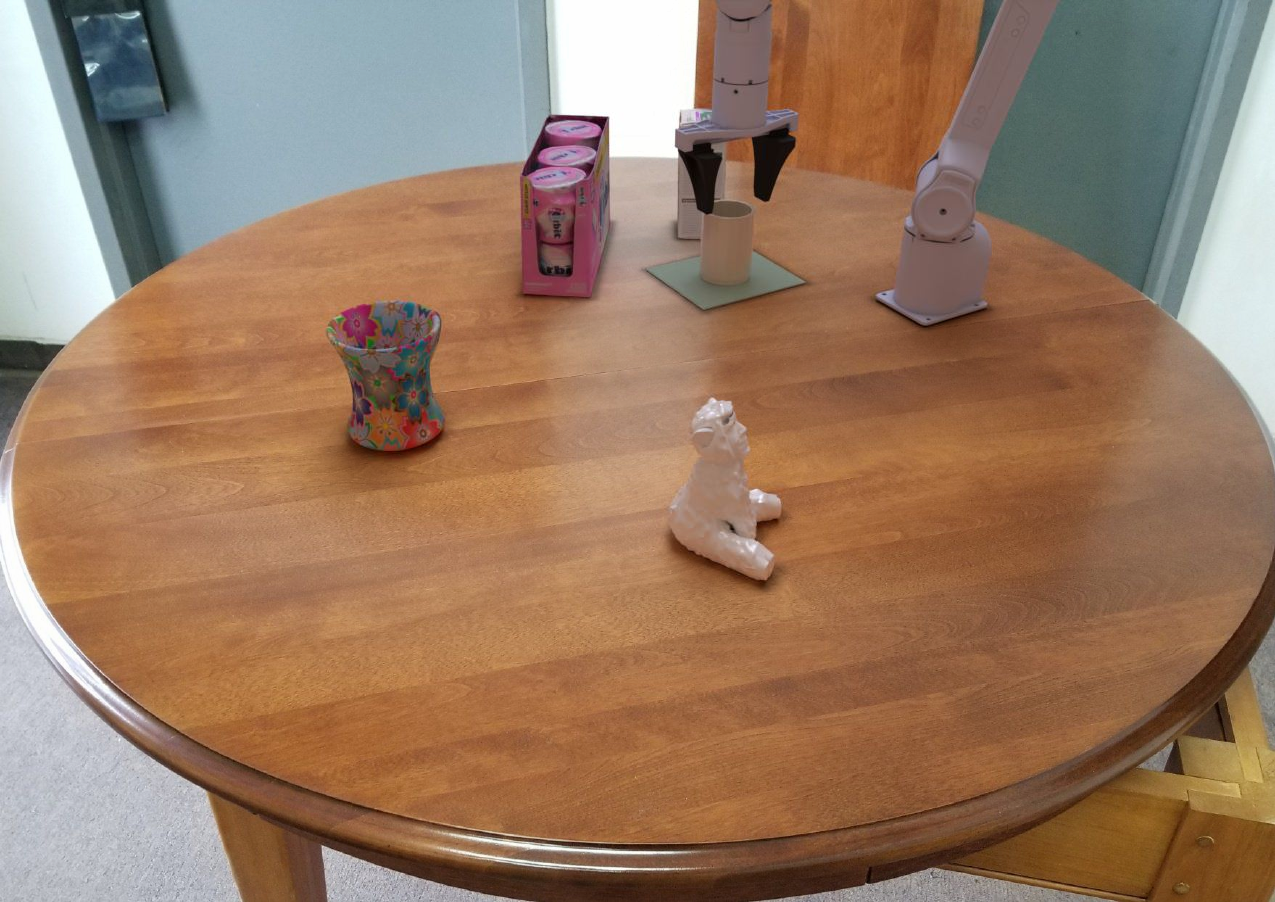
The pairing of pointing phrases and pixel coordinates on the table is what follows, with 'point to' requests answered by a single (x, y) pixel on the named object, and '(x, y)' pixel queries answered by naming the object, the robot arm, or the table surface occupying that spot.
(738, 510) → the seated beast figurine
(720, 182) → the syrup box
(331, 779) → the table surface
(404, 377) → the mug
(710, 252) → the cup
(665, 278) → the mat
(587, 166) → the gum box
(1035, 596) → the table surface
